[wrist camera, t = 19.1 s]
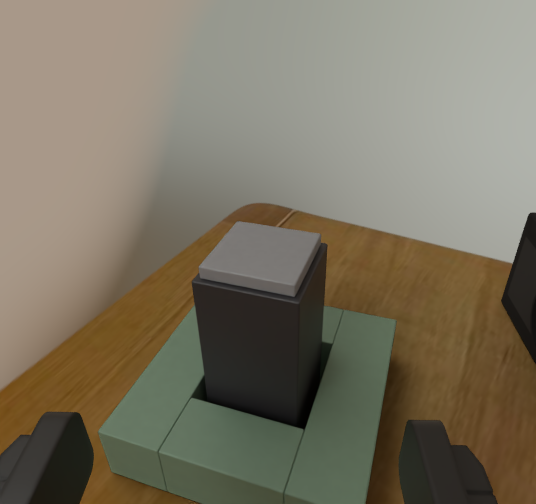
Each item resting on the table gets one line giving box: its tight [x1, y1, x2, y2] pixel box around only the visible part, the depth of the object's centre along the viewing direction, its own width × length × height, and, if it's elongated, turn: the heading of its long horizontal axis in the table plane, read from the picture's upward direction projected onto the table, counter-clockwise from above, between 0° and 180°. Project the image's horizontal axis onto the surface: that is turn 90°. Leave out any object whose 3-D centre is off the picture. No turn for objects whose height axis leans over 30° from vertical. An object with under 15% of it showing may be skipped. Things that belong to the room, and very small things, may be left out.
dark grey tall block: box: [192, 221, 327, 431], centre depth 22 cm, size 4×4×10 cm
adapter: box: [98, 305, 397, 504], centre depth 24 cm, size 12×12×3 cm
